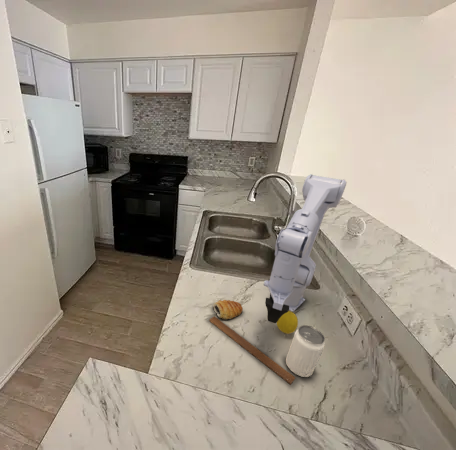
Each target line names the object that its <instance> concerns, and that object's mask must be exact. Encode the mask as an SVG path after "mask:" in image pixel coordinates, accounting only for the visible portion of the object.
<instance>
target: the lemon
mask: <svg viewBox="0 0 456 450" xmlns="http://www.w3.org/2000/svg"><path fill="white" fill-rule="evenodd" d="M298 320H299V319H298V317H297V315H296V314H295V313H294V312H292V311H290V310H289V311H288V312H287V313H285V314H283V315H282V316H281V317H280V319H279V320H278V321H277V323H276V326H277V328H278V329H279V331H280V332H282V333H283V334H287V335H290V334H293V333H295V332H296V331H297V328H298V325H299V321H298Z"/></svg>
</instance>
